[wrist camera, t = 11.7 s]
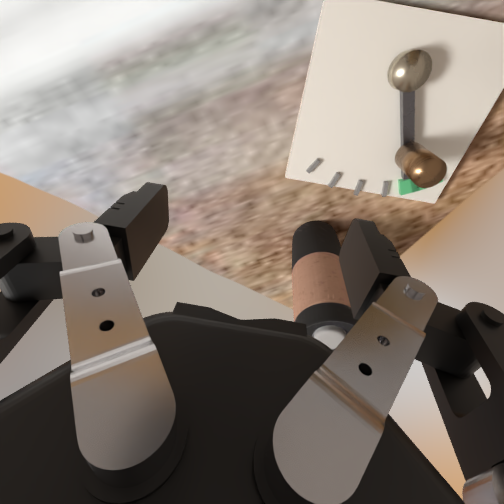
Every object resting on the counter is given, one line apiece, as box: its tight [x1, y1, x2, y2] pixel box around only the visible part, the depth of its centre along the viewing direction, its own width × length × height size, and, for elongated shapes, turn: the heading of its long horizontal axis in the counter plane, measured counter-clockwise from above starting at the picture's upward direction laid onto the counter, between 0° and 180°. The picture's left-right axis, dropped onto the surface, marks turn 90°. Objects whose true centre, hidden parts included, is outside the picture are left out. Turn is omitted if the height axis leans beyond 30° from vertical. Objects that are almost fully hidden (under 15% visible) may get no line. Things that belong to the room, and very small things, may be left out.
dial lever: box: [387, 50, 447, 188], centre depth 29 cm, size 14×4×7 cm, turn 18°
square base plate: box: [285, 0, 504, 204], centre depth 33 cm, size 20×21×2 cm
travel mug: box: [292, 221, 358, 351], centre depth 37 cm, size 8×8×20 cm
